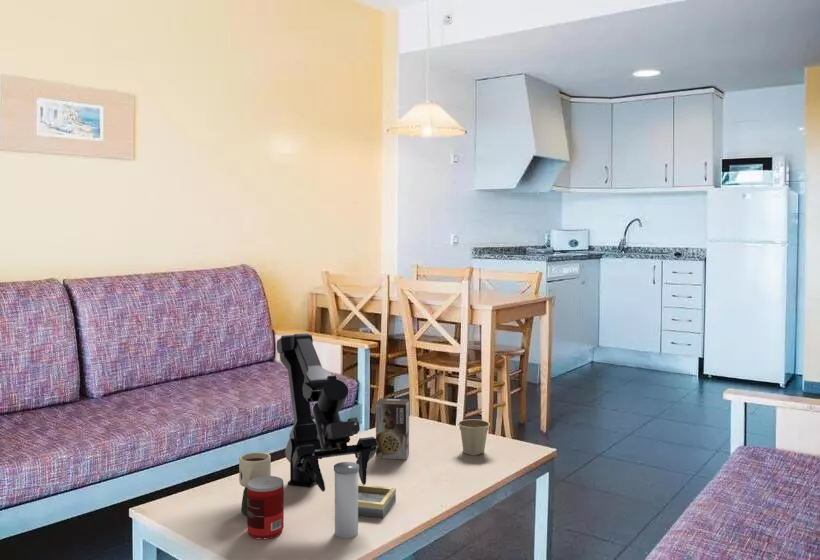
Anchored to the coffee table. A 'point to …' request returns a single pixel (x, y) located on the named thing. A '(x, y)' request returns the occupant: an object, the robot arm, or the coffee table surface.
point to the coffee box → (392, 428)
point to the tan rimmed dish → (375, 500)
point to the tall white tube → (346, 499)
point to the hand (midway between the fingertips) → (344, 487)
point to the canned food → (265, 507)
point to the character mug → (252, 471)
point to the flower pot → (473, 435)
